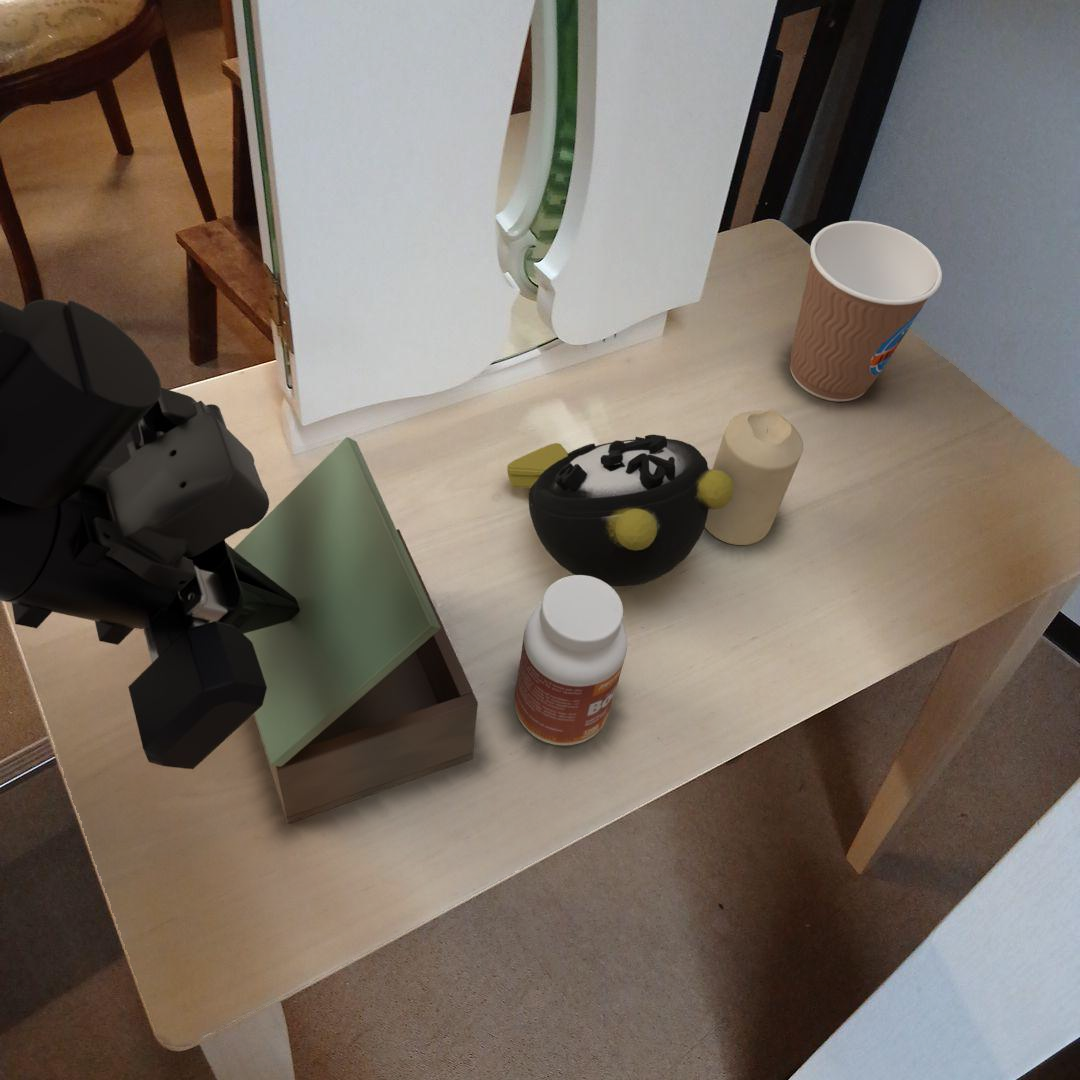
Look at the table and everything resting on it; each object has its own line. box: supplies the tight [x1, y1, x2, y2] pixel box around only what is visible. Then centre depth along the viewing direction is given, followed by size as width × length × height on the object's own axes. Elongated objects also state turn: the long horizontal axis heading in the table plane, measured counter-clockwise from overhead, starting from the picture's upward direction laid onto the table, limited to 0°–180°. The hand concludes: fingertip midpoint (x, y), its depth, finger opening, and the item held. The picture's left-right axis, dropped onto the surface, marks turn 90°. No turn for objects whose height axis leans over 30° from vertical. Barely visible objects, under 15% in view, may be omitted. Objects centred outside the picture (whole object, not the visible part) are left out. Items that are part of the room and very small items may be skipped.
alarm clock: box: [506, 434, 734, 588], centre depth 74 cm, size 12×15×15 cm
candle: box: [704, 409, 804, 546], centre depth 77 cm, size 6×6×10 cm
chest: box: [252, 528, 479, 824], centre depth 65 cm, size 12×14×7 cm
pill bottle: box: [514, 574, 628, 746], centre depth 65 cm, size 6×6×11 cm
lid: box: [233, 436, 441, 767], centre depth 58 cm, size 12×14×1 cm
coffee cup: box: [789, 220, 943, 402], centre depth 87 cm, size 10×10×12 cm
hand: (293, 610), depth 58 cm, fingers closed, pressing on lid
